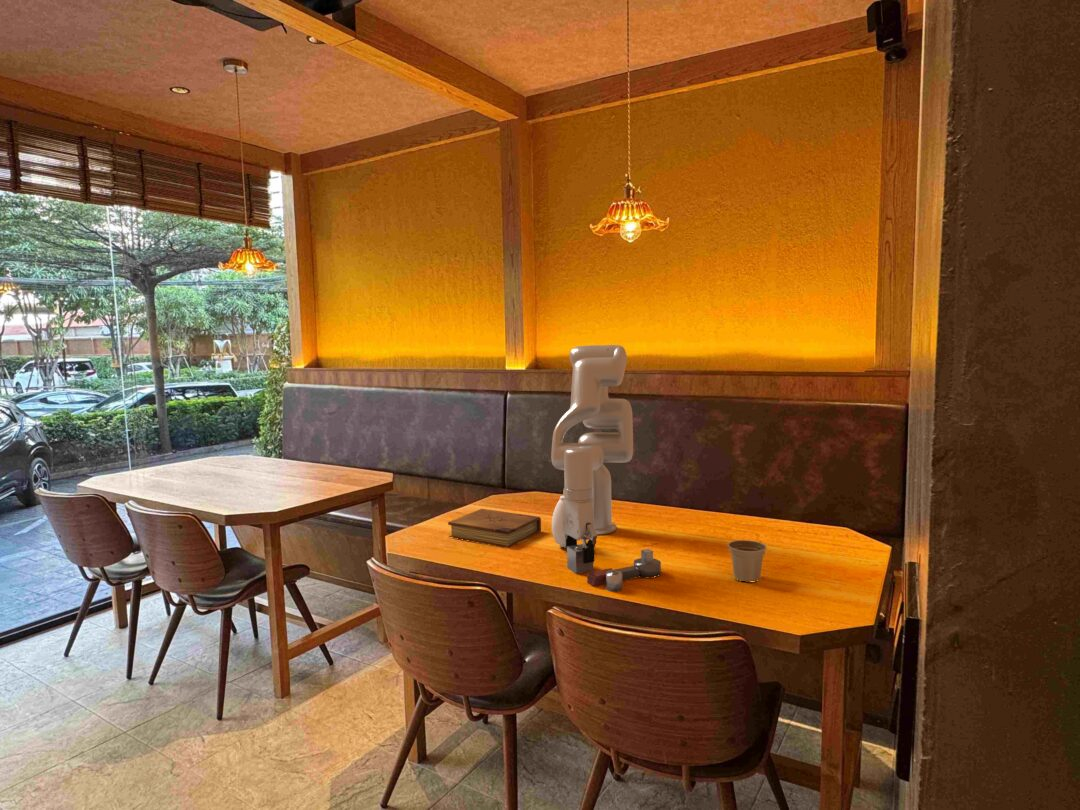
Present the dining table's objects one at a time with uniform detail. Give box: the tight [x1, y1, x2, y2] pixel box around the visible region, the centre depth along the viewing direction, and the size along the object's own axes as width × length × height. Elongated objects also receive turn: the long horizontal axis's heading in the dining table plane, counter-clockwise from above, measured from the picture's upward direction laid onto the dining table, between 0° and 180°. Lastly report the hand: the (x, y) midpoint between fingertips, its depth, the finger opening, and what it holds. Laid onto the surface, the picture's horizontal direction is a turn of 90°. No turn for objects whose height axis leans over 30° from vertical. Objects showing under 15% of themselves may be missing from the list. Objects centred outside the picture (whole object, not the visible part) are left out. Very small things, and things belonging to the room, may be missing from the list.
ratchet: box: [586, 548, 662, 588], centre depth 168 cm, size 7×20×6 cm, turn 114°
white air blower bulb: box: [551, 488, 567, 549], centre depth 194 cm, size 8×8×18 cm
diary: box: [447, 508, 542, 549], centre depth 209 cm, size 23×19×6 cm
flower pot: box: [727, 539, 768, 583], centre depth 165 cm, size 9×9×9 cm
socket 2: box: [605, 569, 623, 593], centre depth 161 cm, size 4×4×4 cm
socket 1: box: [566, 543, 595, 575], centre depth 175 cm, size 5×5×6 cm
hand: (579, 557), depth 175 cm, fingers open, 9 cm apart
